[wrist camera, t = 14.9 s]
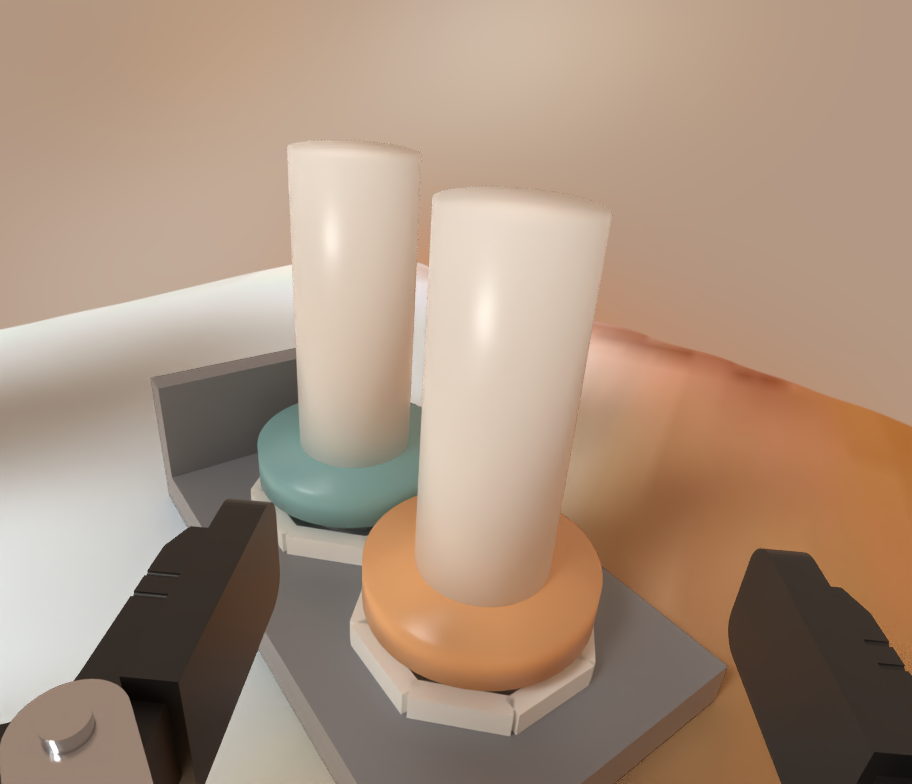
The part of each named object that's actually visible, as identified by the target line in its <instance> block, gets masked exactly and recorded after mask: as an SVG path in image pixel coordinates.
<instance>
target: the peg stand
mask: <svg viewBox="0 0 912 784" xmlns="http://www.w3.org/2000/svg"><path fill="white" fill-rule="evenodd" d="M421 156H422V155H421V153H420V152H419V151H417V150H414V149H411V148H407V147H403V146H398V145H392V144H385V143H377V142H366V141H352V140H316V141H315V140H313V141H303V142H297V143H293V144H290V145H289V146H287V157H288V180H289V203H290V226H291V246H292V271H293V294H294V316H295V339H296V348H294V349H289V350H284V351H279V352H274V353H269V354H264V355H259V356H255V357H250V358H245V359H240V360H235V361H230V362H225V363H221V364H216V365H211V366H206V367H201V368H196V369H191V370H187V371H182V372H177V373H172V374H167V375H162V376H157V377H153V378H151V384H152V390H153V396H154V403H155V409H156V415H157V421H158V428H159V434H160V440H161V447H162V453H163V459H164V466H165V472H166V478H167V484H168V491H169V496H170V497H171V499H172V501H173V503H174V504H175V506H176V508H177V510H178V511H179V513H180V515H181V516H182V518H183V520H184V522H185V523H186V525H187V527H188V528H189V527H190V526H195V527H206V528H208V527H209V525H210V524H211V522H212V520H213V519H214V517H215V515H216V514H217V512H218V510H219V509H220V507H221V505H222V504H223V502H224V501H225V500H226V499H228V498H231V499H242V500H253V501H264V502H272V503H273V504H274V505H275V509H276V519H277V533H278V548H279V563H280V583H279V590H278V596H277V600H276V604H275V607H274V610H273V613H272V615H271V618H270V620H269V623H268V625H267V628H266V631H265V633H264V636H263V638H262V641H261V643H260V646H259V648H258V650H259V651H260V653H261V655H262V656H263V658H264V660H265V662H266V663H267V665H268V667H269V669H270V670H271V672H272V674H273V675H274V677H275V679H276V681H277V682H278V684H279V686H280V688H281V689H282V691H283V693H284V694H285V696H286V698H287V700H288V701H289V703H290V705H291V707H292V708H293V710H294V712H295V713H296V715H297V717H298V719H299V720H300V722H301V724H302V726H303V727H304V729H305V731H306V732H307V734H308V736H309V738H310V739H311V741H312V743H313V745H314V746H315V748H316V750H317V751H318V753H319V755H320V757H321V758H322V760H323V762H324V764H325V765H326V767H327V769H328V770H329V772H330V774H331V776H332V777H333V779H334V781H335V783H336V784H614V783H615V782H617V781H618V780H619V779H620V778H621V777H623V776H624V775H625V774H626V773H627V772H629V771H630V770H631V769H632V768H633V767H635V766H636V765H637V764H638V763H639V762H641V761H642V760H643V759H644V758H645V757H647V756H648V755H649V754H650V753H651V752H653V751H654V750H655V749H656V748H657V747H659V746H660V745H661V744H662V743H664V742H665V741H666V740H667V739H668V738H670V737H671V736H672V735H673V734H674V733H676V732H677V731H678V730H679V729H680V728H682V727H683V726H684V725H685V724H686V723H688V722H689V721H690V720H691V719H692V718H694V717H695V716H696V715H697V714H698V713H700V712H701V711H702V710H703V709H704V708H706V707H707V706H708V705H709V704H710V703H712V702H713V701H714V700H715V699H716V697H717V694H718V691H719V689H720V686H721V684H722V681H723V678H724V676H725V673H726V670H727V668H728V666H727V665H726V664H725V663H723V662H722V661H721V660H720V659H718V658H717V657H716V656H714V655H713V654H712V653H711V652H709V651H708V650H707V649H706V648H704V647H703V646H702V645H701V644H699V643H698V642H697V641H696V640H694V639H693V638H692V637H691V636H689V635H688V634H687V633H685V632H684V631H683V630H682V629H680V628H679V627H678V626H677V625H675V624H674V623H673V622H672V621H670V620H669V619H668V618H667V617H665V616H664V615H663V614H661V613H660V612H659V611H658V610H656V609H655V608H654V607H653V606H651V605H650V604H649V603H648V602H646V601H645V600H644V599H643V598H641V597H640V596H639V595H638V594H636V593H635V592H634V591H632V590H631V589H630V588H629V587H627V586H626V585H625V584H624V583H622V582H621V581H620V580H619V579H617V578H616V577H615V576H614V575H612V574H611V573H610V572H609V571H607V570H606V569H605V568H603V567H602V566H601V567H602V573H603V586H602V590H601V595H600V599H599V604H598V608H597V613H596V617H595V622H594V626H593V631H592V634H591V636H590V639H589V641H588V643H587V645H586V647H585V648H584V650H583V651H582V653H581V654H580V655H579V656H578V657H577V658H576V659H575V660H574V662H573V663H572V664H570V665H569V666H568V667H567V668H565V669H564V670H563V671H561V672H560V673H558V674H556V675H554V676H553V677H551V678H549V679H547V680H544V681H542V682H539V683H537V684H534V685H531V686H527V687H523V688H518V689H512V690H504V691H476V690H467V689H461V688H457V687H452V686H448V685H444V684H441V683H438V682H436V681H433V680H430V679H428V678H426V677H424V676H421V675H419V674H417V673H415V672H413V671H412V670H410V669H409V668H407V667H406V666H404V665H402V664H401V663H400V662H398V661H397V660H396V659H395V658H394V657H392V656H391V655H390V654H389V653H388V652H387V651H386V650H385V649H384V648H383V646H382V645H381V644H380V643H379V642H378V640H377V639H376V637H375V636H374V634H373V633H372V631H371V629H370V627H369V625H368V623H367V621H366V617H365V614H364V610H363V602H362V557H363V549H364V546H365V542H366V539H367V537H368V535H369V533H370V531H371V529H372V528H373V527H374V525H375V524H376V523H377V521H378V520H379V519H380V518H381V517H382V516H383V515H384V514H385V513H387V512H388V511H389V510H391V509H392V508H393V507H395V506H397V505H398V504H400V503H402V502H404V501H405V500H408V499H410V498H412V497H415V496H417V494H418V474H419V454H420V435H421V415H422V408H421V407H419V406H417V405H415V404H412V403H410V399H411V377H412V354H413V332H414V310H415V288H416V266H417V244H418V243H417V242H418V222H419V200H420V178H421V177H420V176H421Z"/></svg>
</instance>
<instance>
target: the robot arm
mask: <svg viewBox="0 0 912 784" xmlns="http://www.w3.org/2000/svg"><path fill="white" fill-rule="evenodd" d="M279 583H280V563H279V548H278V533H277V519H276V509H275V505H274V504H273V503H272V502H264V501H253V500H242V499H231V498H228V499H226V500H225V501H224V502H223V504H222V505H221V507H220V509H219V510H218V512H217V514H216V515H215V517H214V519H213V520H212V522H211V524H210V525H209V527H208V528H206V527H195V526H190V527H189V528H187V529H186V530H185V531H183V532H182V533H181V534H179V535H178V536H177V537H175V538H174V539H173V540H171V541H170V542H169V543H167V544H166V545H165V546H164V547H163V548H162V550H161V551H160V553H159V554H158V556H157V557H156V559H155V560H154V562H153V563H152V565H151V566H150V568H149V569H148V573H147V576H146V575H144V577H143V578H142V580H141V581H140V583H139V584H138V586H137V587H136V589H135V590H134V595H133V596H130V598H129V599H128V601H127V602H126V604H125V605H124V607H123V608H122V610H121V611H120V613H119V614H118V616H117V617H116V619H115V620H114V622H113V623H112V625H111V626H110V628H109V629H108V631H107V632H106V634H105V635H104V637H103V638H102V640H101V641H100V643H99V645H98V646H97V648H96V649H95V651H94V652H93V654H92V655H91V657H90V658H89V660H88V661H87V663H86V664H85V666H84V667H83V669H82V670H81V672H80V673H79V674H78V676H77V677H76V678H75V680H74V681H72V682H69V683H66V684H62V685H60V686H57V687H55V688H53V689H51V690H49V691H47V692H45V693H43V694H42V695H40V696H38V697H37V698H35V699H34V700H33V701H31V702H30V703H29V704H27V705H26V706H25V707H24V708H23V709H22V710H21V711H20V712H19V713H18V714H17V715H16V716H15V717H14V719H13V720H12V721H11V722H9V723H5V724H1V725H0V784H205V782H206V780H207V777H208V775H209V772H210V769H211V767H212V764H213V762H214V759H215V757H216V754H217V752H218V749H219V747H220V744H221V742H222V739H223V737H224V734H225V732H226V729H227V727H228V724H229V721H230V719H231V716H232V714H233V711H234V709H235V706H236V704H237V701H238V699H239V696H240V694H241V691H242V689H243V686H244V684H245V681H246V679H247V676H248V673H249V671H250V668H251V666H252V663H253V661H254V658H255V656H256V653H257V651H258V648H259V646H260V643H261V641H262V638H263V636H264V633H265V631H266V628H267V625H268V623H269V620H270V618H271V615H272V613H273V610H274V607H275V604H276V600H277V596H278V590H279ZM728 636H729V645H730V650H731V653H732V656H733V659H734V662H735V664H736V667H737V669H738V672H739V675H740V677H741V680H742V682H743V685H744V688H745V690H746V693H747V695H748V698H749V701H750V703H751V706H752V708H753V711H754V714H755V716H756V719H757V721H758V724H759V727H760V729H761V732H762V734H763V737H764V739H765V742H766V745H767V747H768V750H769V752H770V755H771V758H772V760H773V763H774V765H775V768H776V771H777V773H778V776H779V778H780V781H781V784H912V676H911V674H910V673H909V672H908V671H905V669H904V666H905V665H904V664H903V662H902V661H901V659H900V658H899V656H898V655H897V653H896V652H895V650H894V648H893V647H889V641H888V639H887V638H886V636H885V635H884V633H883V632H882V630H881V629H880V627H879V626H878V624H877V623H876V621H875V620H874V618H873V616H872V615H871V613H869V612H868V611H867V610H866V609H865V608H864V607H863V606H862V605H860V604H859V603H858V602H857V601H856V600H855V599H854V598H852V597H851V596H850V595H849V594H848V593H847V592H846V591H845V590H843V589H842V588H839V587H831V586H830V585H829V583H828V582H827V580H826V578H825V577H824V575H823V573H822V572H821V570H820V569H819V567H818V565H817V564H816V562H815V560H814V559H813V558H812V557H811V556H810V555H809V554H807V553H804V552H794V551H783V550H772V549H757V550H756V551H755V552H754V553H753V555H752V557H751V559H750V562H749V564H748V567H747V570H746V573H745V575H744V578H743V581H742V584H741V587H740V589H739V592H738V595H737V598H736V601H735V603H734V606H733V609H732V612H731V615H730V619H729V627H728Z"/></svg>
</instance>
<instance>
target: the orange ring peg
mask: <svg viewBox="0 0 912 784" xmlns="http://www.w3.org/2000/svg"><path fill="white" fill-rule="evenodd" d="M611 217H612V212H611V210H610V209H609V208H607V207H605V206H604V205H602V204H599V203H597V202H594V201H592V200H588V199H585V198H581V197H577V196H573V195H569V194H564V193H558V192H552V191H545V190H538V189H529V188H518V187H500V186H474V187H460V188H452V189H447V190H443V191H440V192H438V193H436V194H435V195H434V196H433V198H432V218H431V237H430V257H429V277H428V296H427V316H426V336H425V356H424V375H423V395H422V415H421V435H420V454H419V474H418V494H417V496H415V497H412V498H410V499H408V500H405V501H404V502H402V503H400V504H398V505H397V506H395V507H393V508H392V509H391V510H389V511H388V512H387V513H385V514H384V515H383V516H382V517H381V518H380V519H379V520H378V521H377V523H376V524H375V525H374V527H373V528H372V529H371V531H370V533H369V535H368V537H367V539H366V542H365V546H364V549H363V557H362V602H363V610H364V614H365V617H366V621H367V623H368V625H369V627H370V629H371V631H372V633H373V634H374V636H375V637H376V639H377V640H378V642H379V643H380V644H381V645H382V646H383V648H384V649H385V650H386V651H387V652H388V653H389V654H390V655H391V656H392V657H394V658H395V659H396V660H397V661H398V662H400V663H401V664H402V665H404V666H406V667H407V668H409V669H410V670H412V671H413V672H415V673H417V674H419V675H421V676H424V677H426V678H428V679H430V680H433V681H436V682H438V683H441V684H444V685H448V686H452V687H457V688H461V689H467V690H476V691H504V690H512V689H518V688H523V687H527V686H531V685H534V684H537V683H539V682H542V681H544V680H547V679H549V678H551V677H553V676H554V675H556V674H558V673H560V672H561V671H563V670H564V669H565V668H567V667H568V666H569V665H570V664H572V663H573V662H574V660H575V659H576V658H577V657H578V656H579V655H580V654H581V653H582V651H583V650H584V648H585V647H586V645H587V643H588V641H589V639H590V636H591V634H592V631H593V626H594V622H595V617H596V613H597V608H598V604H599V599H600V595H601V590H602V586H603V573H602V567H601V563H600V560H599V557H598V554H597V552H596V550H595V548H594V547H593V545H592V543H591V542H590V540H589V539H588V538H587V536H586V535H585V534H584V533H583V532H582V531H581V530H580V528H579V527H578V526H577V525H576V524H574V523H573V522H572V521H571V520H570V519H568V518H567V517H566V516H564V515H563V514H561V513H560V512H561V506H562V501H563V495H564V489H565V483H566V477H567V472H568V466H569V460H570V454H571V449H572V443H573V437H574V431H575V425H576V420H577V414H578V408H579V402H580V397H581V391H582V385H583V379H584V373H585V368H586V362H587V356H588V350H589V344H590V339H591V333H592V327H593V321H594V315H595V310H596V303H597V298H598V292H599V287H600V281H601V275H602V268H603V263H604V258H605V252H606V246H607V240H608V235H609V229H610V223H611Z"/></svg>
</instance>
